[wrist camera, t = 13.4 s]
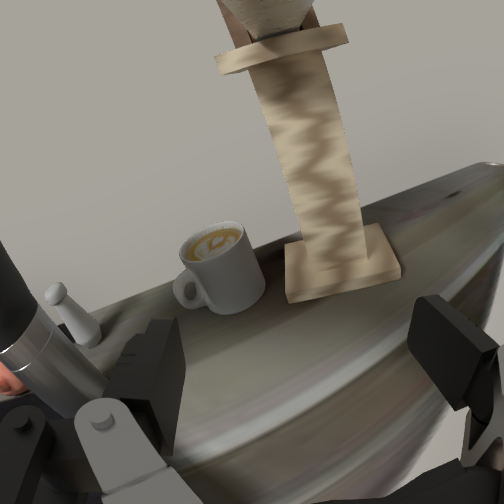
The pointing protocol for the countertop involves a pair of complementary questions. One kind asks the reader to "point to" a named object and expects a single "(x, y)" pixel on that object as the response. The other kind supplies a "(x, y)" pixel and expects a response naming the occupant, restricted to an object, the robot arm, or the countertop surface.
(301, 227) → the shelf stand
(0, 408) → the countertop surface
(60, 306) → the salt shaker
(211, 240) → the coffee mug
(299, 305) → the countertop surface
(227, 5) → the bar
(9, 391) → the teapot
